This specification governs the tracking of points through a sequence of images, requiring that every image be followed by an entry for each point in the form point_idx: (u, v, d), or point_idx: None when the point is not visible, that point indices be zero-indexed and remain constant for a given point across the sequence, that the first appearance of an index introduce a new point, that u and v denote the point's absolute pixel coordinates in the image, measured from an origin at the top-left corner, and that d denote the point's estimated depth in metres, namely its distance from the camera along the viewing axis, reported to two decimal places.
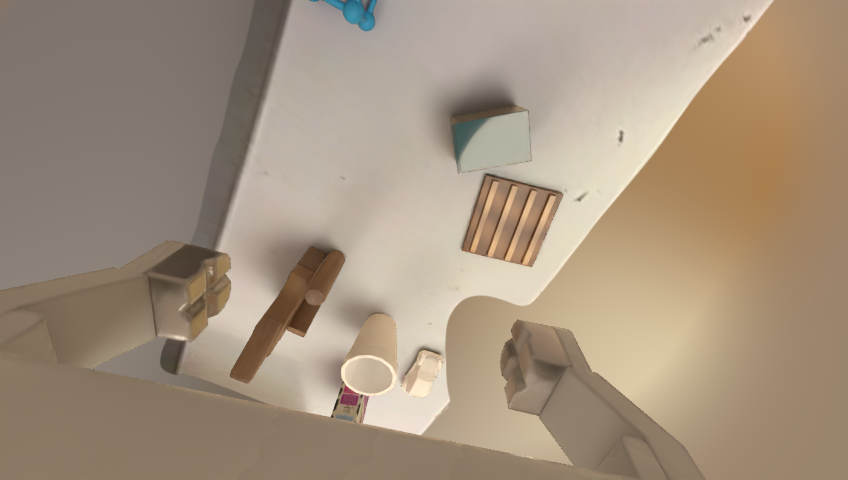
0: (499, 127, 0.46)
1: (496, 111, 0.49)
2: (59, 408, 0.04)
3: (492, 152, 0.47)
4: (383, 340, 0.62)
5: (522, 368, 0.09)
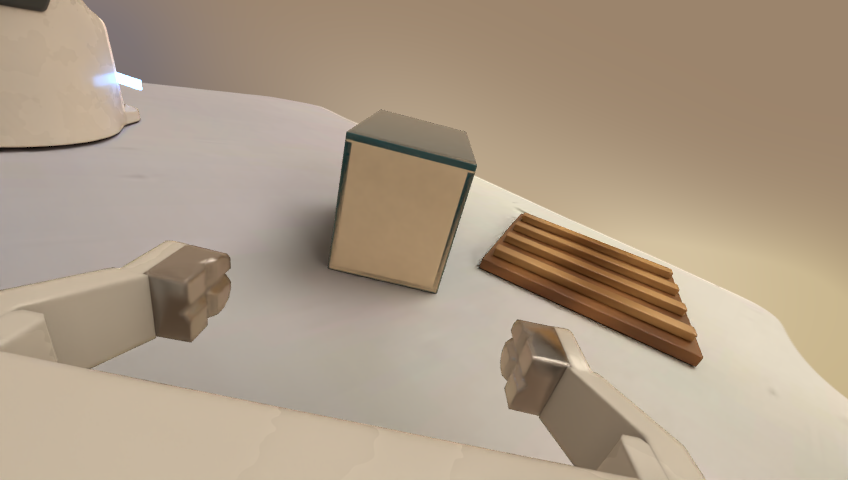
0: (392, 121, 0.23)
1: None
2: (59, 408, 0.04)
3: (437, 136, 0.22)
4: None
5: (522, 368, 0.09)
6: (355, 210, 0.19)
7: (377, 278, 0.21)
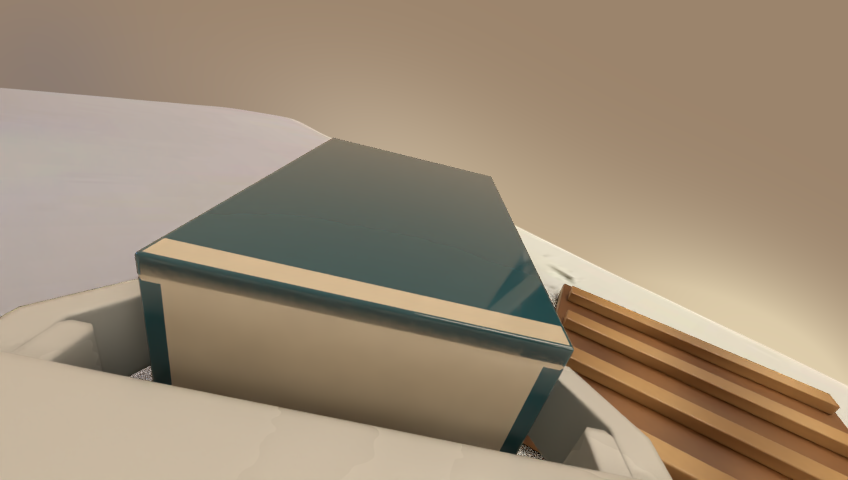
0: (344, 169, 0.11)
1: None
2: (59, 408, 0.04)
3: (441, 206, 0.10)
4: None
5: None
6: None
7: None
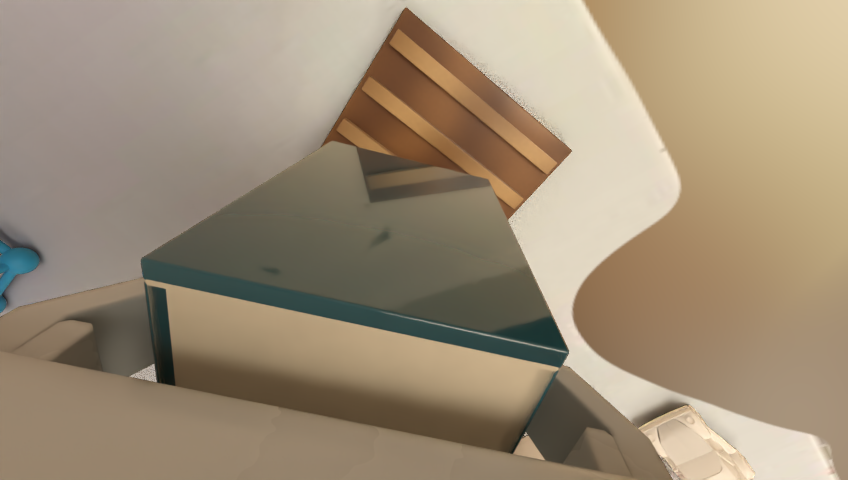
0: (344, 172, 0.11)
1: None
2: (59, 408, 0.04)
3: (439, 210, 0.10)
4: None
5: None
6: None
7: None
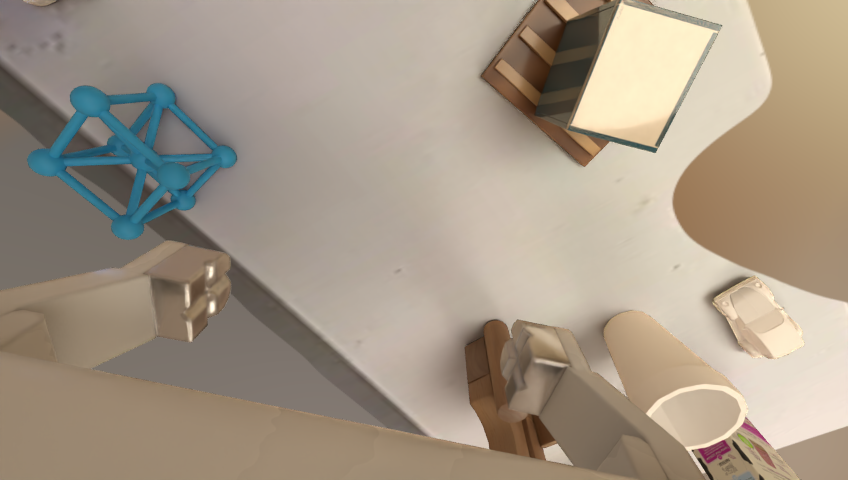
0: None
1: (557, 80, 0.29)
2: (59, 408, 0.04)
3: None
4: (649, 356, 0.37)
5: (522, 368, 0.09)
6: (608, 71, 0.23)
7: (608, 139, 0.25)
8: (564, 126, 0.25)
